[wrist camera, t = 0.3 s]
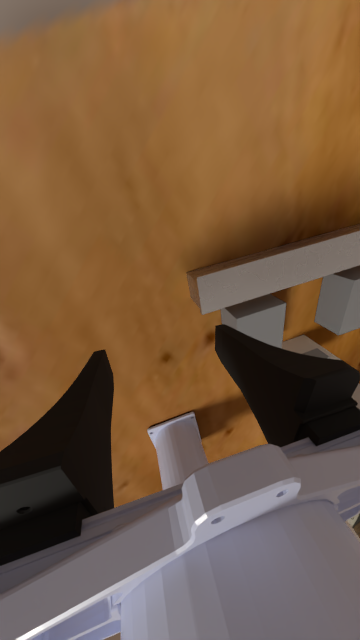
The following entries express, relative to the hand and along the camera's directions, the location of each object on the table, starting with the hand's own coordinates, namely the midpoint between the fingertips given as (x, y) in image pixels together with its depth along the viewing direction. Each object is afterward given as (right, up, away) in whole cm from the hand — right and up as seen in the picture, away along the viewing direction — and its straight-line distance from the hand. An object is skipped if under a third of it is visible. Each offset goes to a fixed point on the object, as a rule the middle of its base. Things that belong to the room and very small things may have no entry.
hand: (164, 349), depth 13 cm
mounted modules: (+17, +4, +15) cm, 23 cm away
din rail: (+15, +10, +11) cm, 21 cm away
